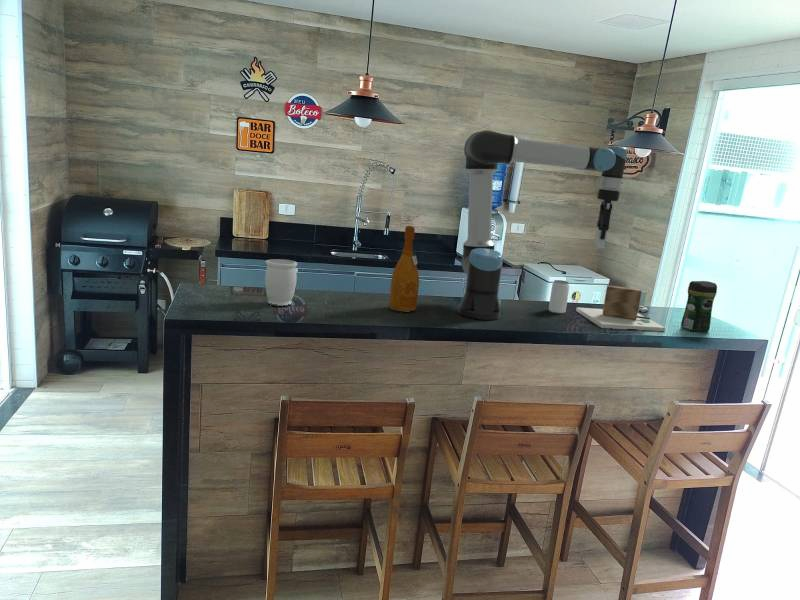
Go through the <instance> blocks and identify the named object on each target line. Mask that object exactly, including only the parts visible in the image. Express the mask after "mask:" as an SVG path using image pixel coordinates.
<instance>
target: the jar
mask: <svg viewBox="0 0 800 600" xmlns="http://www.w3.org/2000/svg"><path fill="white" fill-rule="evenodd" d="M265 265H266V269H265V274H264V284H265V291H266V296H267V298H268V300H267V302H269V303H272V304H277V305H288V304H291V303H292V304H293V302H292V299H294V298H293V297H294V295H295V290H296V287H297V283H298V282H297V280H298V277H297V275H298V273H297V266H298V262H297V261H294V260H291V259H283V258H281V259H279V258H278V259H277V258H276V259H275V258H274V259H272V258H271V259H267V260H265Z"/></svg>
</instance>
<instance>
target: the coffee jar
mask: <svg viewBox="0 0 800 600" xmlns="http://www.w3.org/2000/svg"><path fill="white" fill-rule="evenodd" d="M717 290H718V286H717V284H716V283H715V282H711V281H707V280H691V281H690V282H689V284H688V287H687V300H686V303H685V304H686V305H685V308H684V312H683V316H682V319H681V323H680V327H681V328H682V329H683V328H684V329H683V330H685V329H686V331H692V332H696V333H702V332H708V331H710V328H711V323H712V322H711V320H712V313H713V312H712V311H713V306H714V301H715V297H716V296H717V292H718V291H717Z"/></svg>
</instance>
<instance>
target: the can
mask: <svg viewBox="0 0 800 600" xmlns="http://www.w3.org/2000/svg"><path fill="white" fill-rule="evenodd" d="M569 283H570V282H569V281H566V280H562V279H561V280H560V279H555V280H553V282H552V284H551V291H550V297H549V304H548V305H549V306H548V311H549V312H550V313H553V314H565V313H566V311H567V304H568V299H569V291H570V284H569Z"/></svg>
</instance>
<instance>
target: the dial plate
mask: <svg viewBox="0 0 800 600" xmlns="http://www.w3.org/2000/svg"><path fill="white" fill-rule="evenodd" d="M575 311H576V312H577V313H579V315H582V316H583V317H584V318H586V319H587V320H589V321H590V322H592V323H594V324H595V325H596V326H598V327H599V328H601V329H611V328H612V329H613V330H627V329H638V330H637V331H643V330H652V331H651V332H659V331H665V332H666V327H665V326H663V325H661V324H659V323H657V322H655V321H653V320H652V319H650V320H649V319H642V318H637V319H636V320H635V319H628V318H621V317H614V316H607V315H603V308H595V307H594V308H590V307H578V306H577V307H576V309H575ZM637 316H642V317H645V316H644V315H642V314H641V313H640V312H638V314H637ZM653 330H654V331H653Z"/></svg>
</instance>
